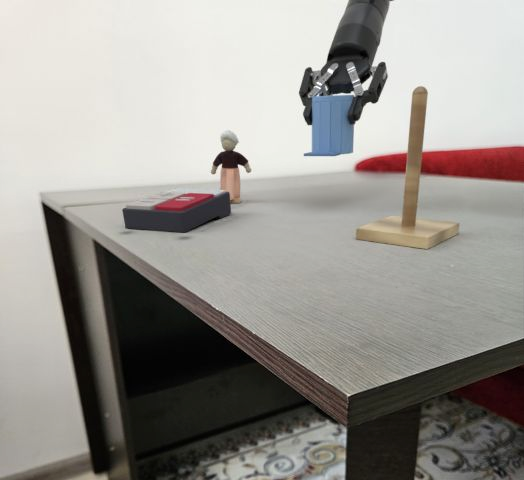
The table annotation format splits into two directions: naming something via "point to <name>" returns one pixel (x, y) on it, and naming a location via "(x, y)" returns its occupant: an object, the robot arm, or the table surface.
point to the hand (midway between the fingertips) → (329, 120)
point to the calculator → (177, 209)
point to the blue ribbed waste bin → (331, 126)
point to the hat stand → (411, 196)
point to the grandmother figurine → (230, 166)
